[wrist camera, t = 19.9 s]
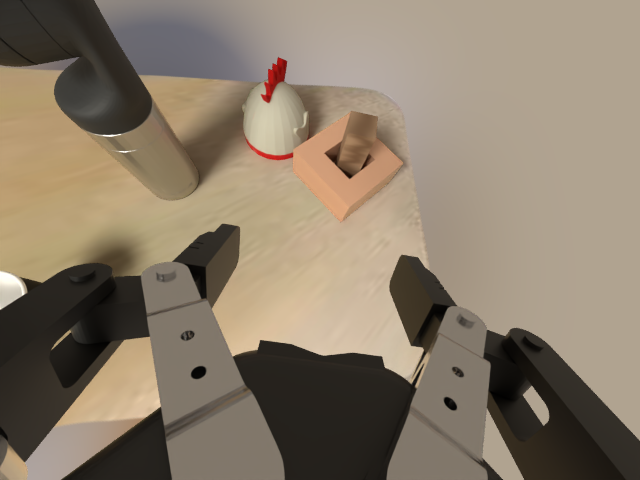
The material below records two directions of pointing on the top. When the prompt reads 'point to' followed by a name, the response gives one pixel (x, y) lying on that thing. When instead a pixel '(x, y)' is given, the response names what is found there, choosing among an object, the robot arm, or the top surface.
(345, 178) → the terracotta well block
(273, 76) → the kitchen timer
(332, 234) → the top surface
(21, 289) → the dixie cup
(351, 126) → the walnut bar
